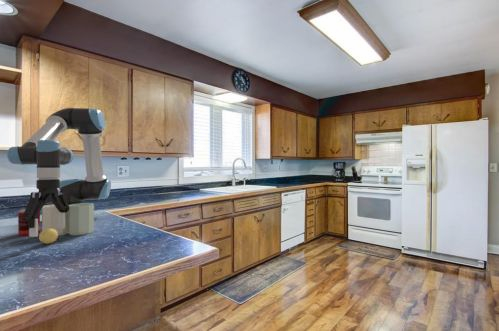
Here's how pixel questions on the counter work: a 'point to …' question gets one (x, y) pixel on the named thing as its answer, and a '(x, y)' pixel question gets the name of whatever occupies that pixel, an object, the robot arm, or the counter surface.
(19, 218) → the canned food
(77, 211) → the crock sage
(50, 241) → the ball loose
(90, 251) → the counter surface
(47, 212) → the crock cream
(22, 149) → the robot arm
